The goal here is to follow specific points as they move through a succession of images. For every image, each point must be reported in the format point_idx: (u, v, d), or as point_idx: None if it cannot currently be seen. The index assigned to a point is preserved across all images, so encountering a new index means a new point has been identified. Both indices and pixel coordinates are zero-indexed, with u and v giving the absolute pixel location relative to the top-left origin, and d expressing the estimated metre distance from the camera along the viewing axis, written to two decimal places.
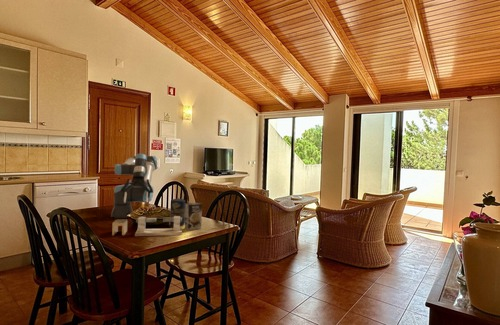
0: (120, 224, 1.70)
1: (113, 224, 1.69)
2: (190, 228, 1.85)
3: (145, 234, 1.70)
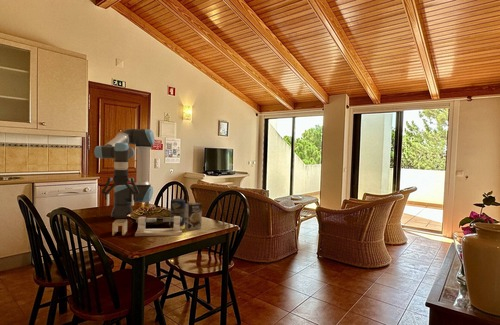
0: (120, 224, 1.70)
1: (113, 224, 1.69)
2: (190, 228, 1.85)
3: (145, 234, 1.70)
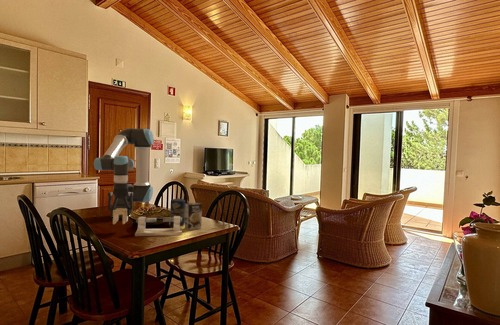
0: (120, 213, 1.70)
1: (113, 213, 1.69)
2: (190, 228, 1.85)
3: (145, 234, 1.70)
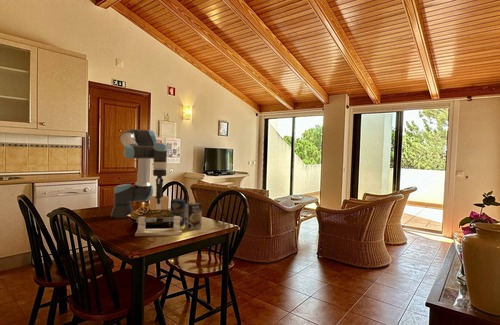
0: (150, 198, 1.73)
1: (150, 197, 1.77)
2: (190, 228, 1.85)
3: (145, 234, 1.70)
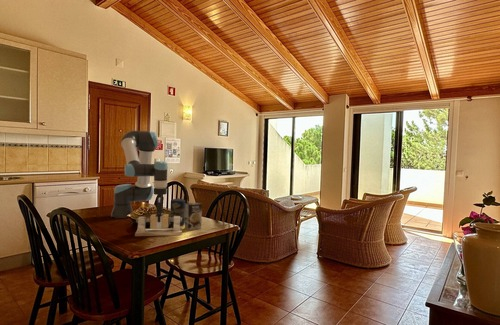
0: (150, 217, 1.74)
1: (151, 215, 1.77)
2: (190, 228, 1.85)
3: (145, 234, 1.70)
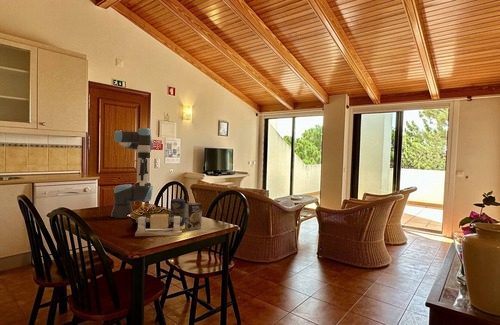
0: None
1: (151, 215, 1.77)
2: (190, 228, 1.85)
3: (145, 234, 1.70)
